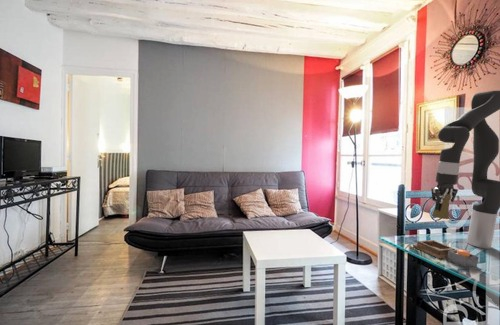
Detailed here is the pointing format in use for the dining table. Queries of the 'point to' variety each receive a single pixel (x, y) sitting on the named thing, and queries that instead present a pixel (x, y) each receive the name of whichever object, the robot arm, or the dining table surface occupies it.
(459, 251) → the button
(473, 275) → the dining table surface
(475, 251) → the dining table surface
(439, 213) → the khaki rounded elongated piece
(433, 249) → the crate
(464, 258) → the button housing
